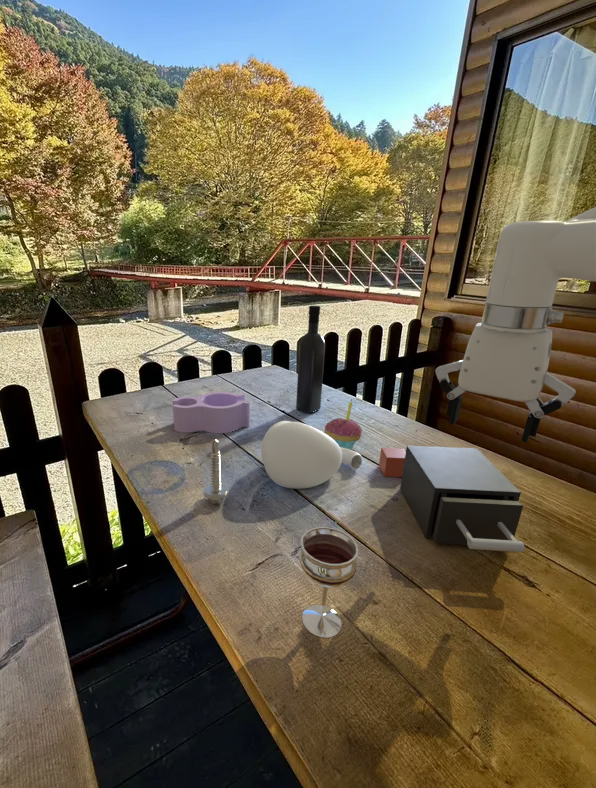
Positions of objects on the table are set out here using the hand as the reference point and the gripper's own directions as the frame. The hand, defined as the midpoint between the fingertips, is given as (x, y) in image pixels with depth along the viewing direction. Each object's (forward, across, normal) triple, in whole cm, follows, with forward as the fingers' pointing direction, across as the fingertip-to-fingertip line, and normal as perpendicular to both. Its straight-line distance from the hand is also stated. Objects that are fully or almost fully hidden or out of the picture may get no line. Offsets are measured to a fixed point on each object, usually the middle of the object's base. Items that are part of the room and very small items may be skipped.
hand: (487, 430), depth 63 cm
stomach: (+19, +33, +1) cm, 38 cm away
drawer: (+18, 0, +1) cm, 18 cm away
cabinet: (+19, +3, -3) cm, 19 cm away
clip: (+19, +63, -4) cm, 66 cm away
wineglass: (+19, +9, +32) cm, 38 cm away
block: (+19, +16, -11) cm, 27 cm away
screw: (+19, +38, +21) cm, 47 cm away
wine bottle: (+19, +48, -30) cm, 60 cm away
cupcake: (+19, +30, -14) cm, 38 cm away
